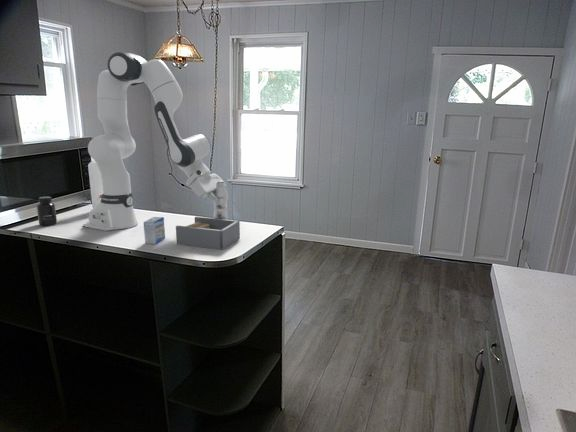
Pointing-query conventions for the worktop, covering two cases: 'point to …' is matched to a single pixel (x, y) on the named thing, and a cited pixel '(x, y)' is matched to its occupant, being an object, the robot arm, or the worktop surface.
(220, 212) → the plastic bottle
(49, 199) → the supplement bottle
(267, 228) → the worktop surface
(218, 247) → the open box
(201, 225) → the upper offcut
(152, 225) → the medicine box
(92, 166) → the bottle
